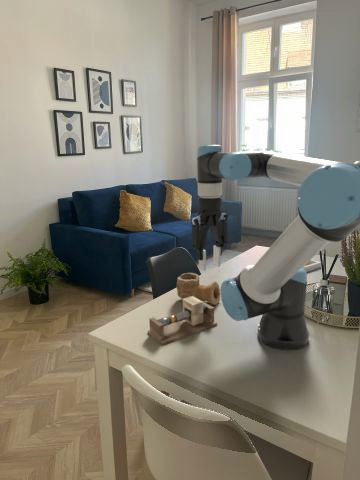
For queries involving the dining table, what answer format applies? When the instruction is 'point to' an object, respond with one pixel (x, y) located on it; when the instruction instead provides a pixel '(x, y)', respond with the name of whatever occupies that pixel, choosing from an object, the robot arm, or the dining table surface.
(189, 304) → the collar
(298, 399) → the dining table surface
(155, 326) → the cradle
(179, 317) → the rod
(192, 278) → the pipe
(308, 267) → the parts corral
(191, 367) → the dining table surface
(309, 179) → the robot arm
